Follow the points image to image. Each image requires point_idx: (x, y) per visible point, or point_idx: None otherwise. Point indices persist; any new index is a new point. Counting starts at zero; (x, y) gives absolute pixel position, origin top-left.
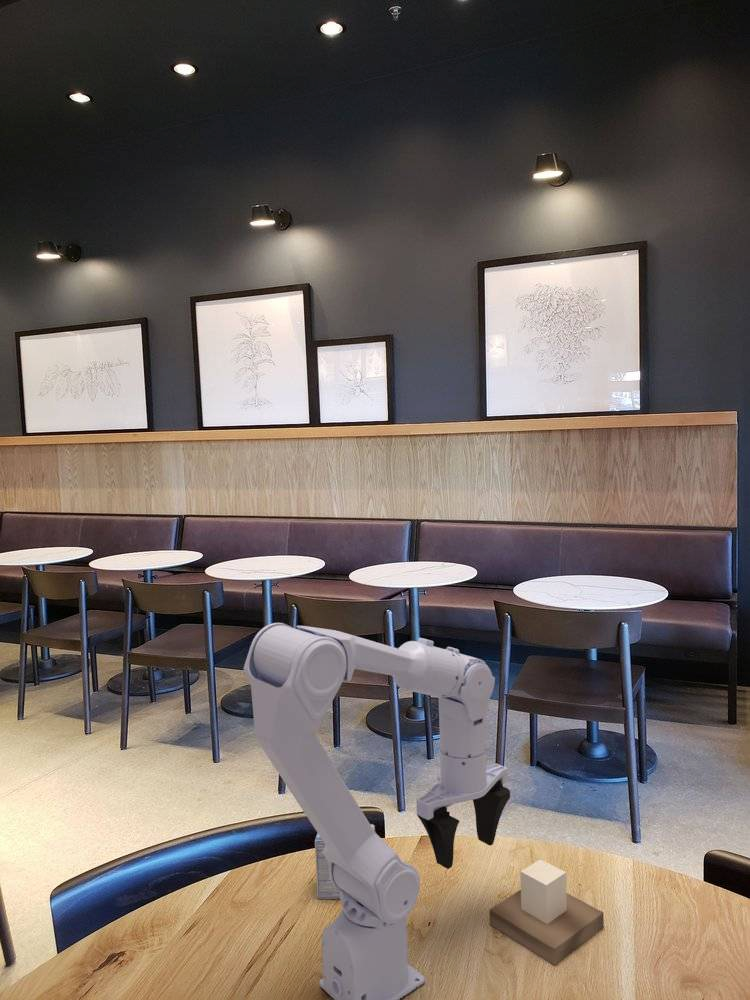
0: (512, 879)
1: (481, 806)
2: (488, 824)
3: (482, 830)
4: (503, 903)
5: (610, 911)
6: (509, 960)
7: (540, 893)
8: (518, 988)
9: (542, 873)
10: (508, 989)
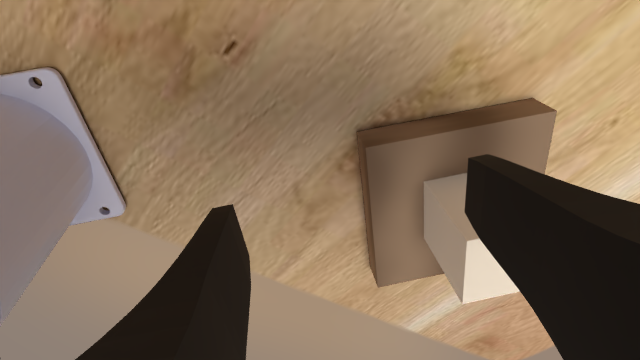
0: (539, 14)
1: (584, 284)
2: (518, 261)
3: (495, 205)
4: (409, 146)
5: None
6: (314, 227)
7: (449, 268)
8: (282, 277)
9: (499, 268)
10: (266, 273)
